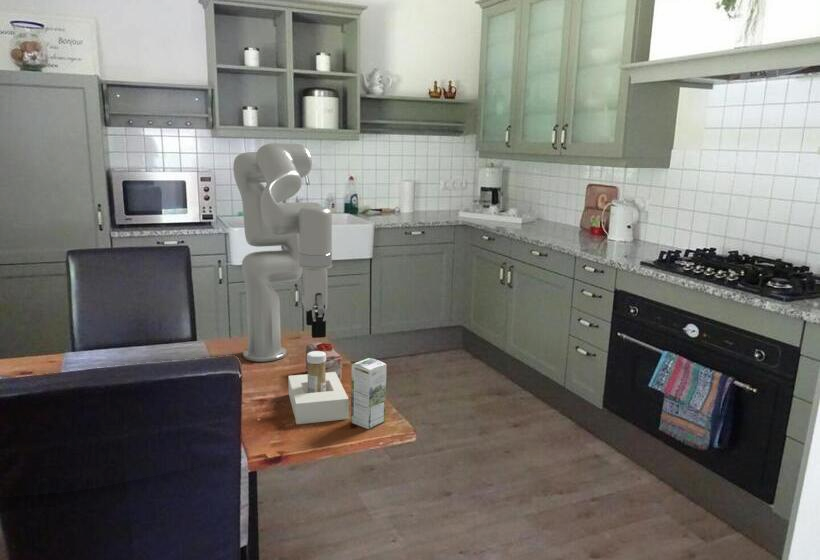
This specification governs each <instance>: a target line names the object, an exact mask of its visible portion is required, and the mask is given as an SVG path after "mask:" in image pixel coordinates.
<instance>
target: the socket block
mask: <svg viewBox="0 0 820 560" xmlns="http://www.w3.org/2000/svg"><path fill="white" fill-rule="evenodd" d="M325 374H326V392H316V393H308V373H306V374H296V375H295V374H294V375H288V381H287V382H288V396H289V400H290V405H291V408H292V412H293V415H294V420H295V424H296V425H304V424H312V423H313V424H315V423H321V422H322V423H323V422H331V421H340V420H341V421H342V420H349V419H350V417H349V416H350V414H349V411H350V409H349V407H350V406H349V405H350V403H349V402H350V398H349V397H348V394H347V393H346V391H345V388H344V387H343V384H342V382H340V380H339V378H338V376H337V374H336V372H328V373H325Z"/></svg>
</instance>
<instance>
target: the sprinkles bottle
mask: <svg viewBox="0 0 820 560" xmlns="http://www.w3.org/2000/svg"><path fill="white" fill-rule="evenodd" d="M325 362H326V353H325V352H322V351H312V352H309V353H308V354H307V363H308V371H307V374H308V393H316V392H326V374H325Z"/></svg>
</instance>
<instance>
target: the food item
mask: <svg viewBox="0 0 820 560" xmlns="http://www.w3.org/2000/svg"><path fill="white" fill-rule="evenodd" d="M334 349H335V348H334V346H332V344H331V343H327V342H313V343H310V344H307V345H306V348H305V368H306V369H305V370H306V371H307V372H308V363H307V354H308V353H309V352H312V351H322V352H325V353H326V362H325V373H328V372H336V374H337V376H338V378H339V380H340V382H341V381H342V375H343V374H342V373H343V357H342V355H340V354H339V353H338V352H336V351H335V350H334ZM341 383H342V382H341Z"/></svg>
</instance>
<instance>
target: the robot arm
mask: <svg viewBox="0 0 820 560" xmlns="http://www.w3.org/2000/svg"><path fill="white" fill-rule="evenodd" d="M233 160H234V161H233V176H234V179H235V180H234V181H235V183H236V186H237V189H238V191H239V194H240V197H241V201H242V202H241V203H242V214H243V227H244V236H245V240H246V242H247V244H248V245H249V246H251V247H257V248H259V247H261V248H262V247H264V248H265V247H277V246H281V247H283V249H282V250H280V249H279V250H277V249H276V250H261V251H254V252H250V253H248V254H247V255H245V256H244V257H243V259H242V261H241V270H242V275H243V280H244V284H245V285H244V286H245V294H246V298H245V299H246V319H247V320H246V323H247V345H248V346H247V347H248V348H246V349H245V350H244V351H243V352H242V353H243V354H242V356H243V358H244V359H245V360H248V361H251V362H260V363H261V362H263V363H264V362H265V363H266V362H273V361H277V360H280V359H282V358H284V357H285V356H286V355H287V350H286V348H284V347H282V346H281V345H282V344H281V343H282V342H281V304H280V296H279V294H278V292H277V291H276V290H275V289H274V288H273V287H272V284H278V283H288V282H295V281H298V280H300V279H301V277H302V281H301V282H302V283H301V284H302V285H301V303H302V305H303V308H304V310H305V321H306V322H305V324H306V325H307V326H311V337H312V339H317V338H319V339H320V338H326V337H327V335H326V334H327V321H326V312H325V311H326V310H327V308H328V269H331V268H332V267H333V264H332V263H333V261H332V260H333V258H332V257H333V253H332V251H333V248H332V247H333V245H332V243H333V239H332V237H333V233H332V232H333V230H332V229H333V222H332V221H333V215H332V211H331V210H330V208H328V207H325V206H324V205H322V204H321V203H319V202H313V201H311V202H303V201H302V202H284V201H287V200H288V199H291V198H292V197H294V196H295V195H297V193H298V192H299V191H300V190H301V187H302V183H303V181H302V178H304V177H306V176H307V175H308V174H309V173H310V171H311V170H312V166H313V158H312V155H311V152H310V150H309V149H308V147H306V146H305V145H304V144H301V143H285V142H284V143H282V142H281V143H279V142H278V143H277V142H276V143H275V142H273V143H272V142H270V143H266V144H263V145H262V146H260V147H259V148H258V149H257V151H250V152H243V153H240V154H238V155H236V156H235V157H234V159H233ZM262 183H266V185H263V184H262Z"/></svg>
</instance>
